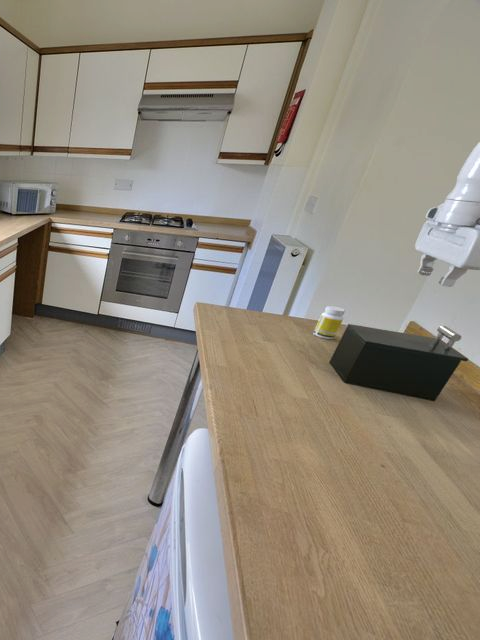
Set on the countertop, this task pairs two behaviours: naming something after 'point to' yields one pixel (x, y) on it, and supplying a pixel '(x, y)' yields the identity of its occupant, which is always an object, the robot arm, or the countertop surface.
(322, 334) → the supplement bottle
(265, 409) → the countertop surface
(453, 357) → the bin lid
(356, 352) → the bin
